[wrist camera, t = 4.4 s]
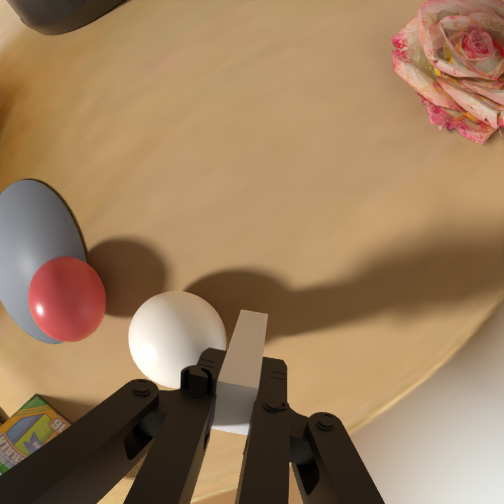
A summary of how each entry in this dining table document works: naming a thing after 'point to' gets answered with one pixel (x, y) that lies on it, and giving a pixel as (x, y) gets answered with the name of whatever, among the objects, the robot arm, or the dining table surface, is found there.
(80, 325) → the red ball
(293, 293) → the dining table surface
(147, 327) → the cue ball
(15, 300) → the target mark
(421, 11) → the flower
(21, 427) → the chalk box
